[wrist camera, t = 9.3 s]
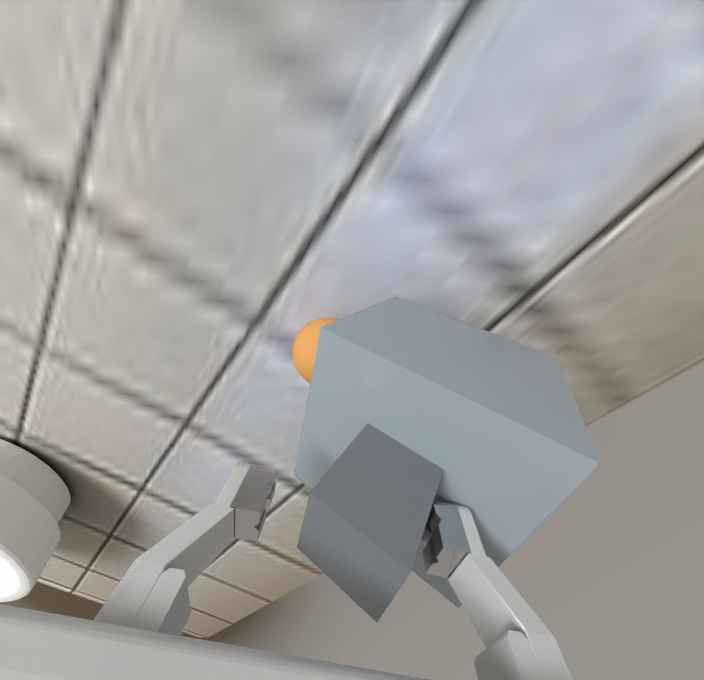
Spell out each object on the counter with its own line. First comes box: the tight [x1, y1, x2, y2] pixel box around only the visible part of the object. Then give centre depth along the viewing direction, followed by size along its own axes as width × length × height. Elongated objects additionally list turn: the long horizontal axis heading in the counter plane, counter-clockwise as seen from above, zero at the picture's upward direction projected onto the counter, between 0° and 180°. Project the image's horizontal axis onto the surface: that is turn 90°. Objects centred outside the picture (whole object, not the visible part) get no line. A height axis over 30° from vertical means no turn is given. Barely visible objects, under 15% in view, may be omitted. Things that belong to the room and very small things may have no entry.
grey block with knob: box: [294, 297, 600, 622], centre depth 14 cm, size 10×10×13 cm
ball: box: [293, 318, 338, 383], centre depth 19 cm, size 5×5×5 cm
